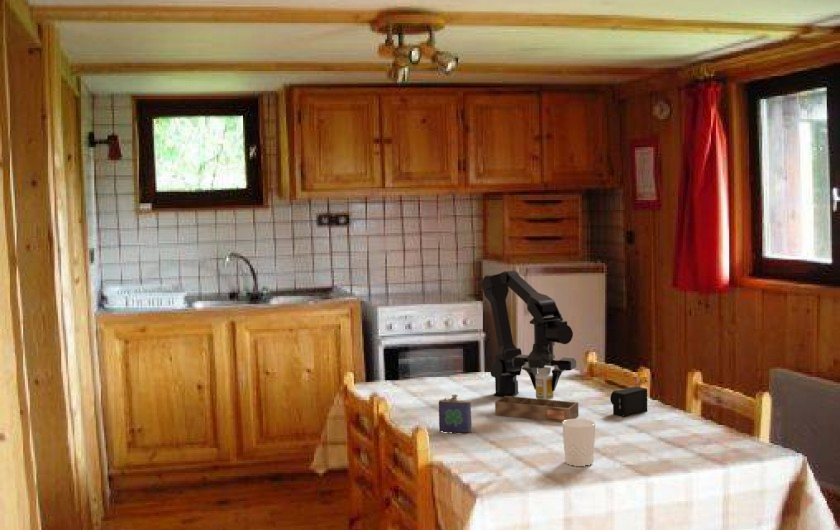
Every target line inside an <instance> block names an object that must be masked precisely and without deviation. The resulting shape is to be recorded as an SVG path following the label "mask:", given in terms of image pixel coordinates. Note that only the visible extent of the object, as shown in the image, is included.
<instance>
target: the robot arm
mask: <svg viewBox="0 0 840 530" xmlns="http://www.w3.org/2000/svg"><path fill="white" fill-rule="evenodd" d="M480 284H481V288H482V291H483V295H484V297H485V298H486V299H487V300H488V302H489V303H490V307H491V313H492V314H491V315H492V320H493V323H494V329H495V336H496V341H497V349H496V352H495V355H494V359H495V360H494V364H493V365H492V367H491V368H490V370H489V372H490V376H491V377H492V378H494V385H495V389H494V390H495V393H493V396H496V397H505V396H512V397H515V396H517V394H519V393H520V391H519V380H517V376H521V373H522V370H524V371H525V372H526V373H527V374H528V376H529V378H530V381H531V383H532V386H533V389H534V390H535V391H536V379H535V378H536V374H538V368H539V369H541V368H544V366H550V367H554V368H553V369H551V374H552V375H553V376H552V391H553V392H555V390H556V388H557V385H558V383H559V380H560V377H561V376H562V373H563V372H565V371H572V370H574V369H576V368H577V361H576V359H575V358H574V357H562V358H560V359H555V358H556V355H555V354H554V346H555V343H557V344H561V345H568V344H569V343H570V342H571V341H572V339H573V337H574V336H573V335H574V333H573V330H572V328H571V326H569V325H568V321H567V320H564V319H563V316H562V314H561V312H560V310H559V308H558V307H557V306H558V305H557V304H556V301H555V300H554V299H553V298H551V297H550V296H548V295H546V294H543V293H540V292H538V291H537V290H535V288H534V287H532V285H530V284H529V283H528V282H527V281H526V280H525V279H523V277H522V276H520V274H519V272H518V271H516V270H505V271H504V270H503V272H500V273H497V274H491V275H490V274H489V275H488V274H487V275H485V276H484V277H483V279H482V281H481V283H480ZM510 290H512V292H513V293H515V294H516V295H517V296H518V297H519V298H520V299H521V300H522V301H523V302H524V303H525V304H526V310H527V312H529V314H530V315H531V316H532V319H530V321H529V324H531V325H533V339H534V340H533V341H534V343H533V344H532V350H531V351H530V352H529V354H523V353H522V349H521V348H520V347H518V348H517V346H516V345H515V343H514V341H513V340H514V339H513V334H512V329H511V323H510V318H509V312H508V305H507V299H508V298H507V297H508V295H509V292H510Z"/></svg>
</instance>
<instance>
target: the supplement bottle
mask: <svg viewBox="0 0 840 530" xmlns="http://www.w3.org/2000/svg"><path fill="white" fill-rule="evenodd" d="M552 376H553V374H552V366H546V365H545V366H544V368H541V369H539V368H537V374H536V378H535V379H536V390H535V399H545V400H553V399H554V398H555V397H554V395H555V393H554V392H555V391H552Z"/></svg>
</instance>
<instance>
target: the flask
mask: <svg viewBox="0 0 840 530" xmlns="http://www.w3.org/2000/svg"><path fill="white" fill-rule="evenodd" d="M457 397H458V394H452V395H451V398H447V397H445V398H444V399H440V400H438V427H439V428H438V429H439V432H440V431H443V432H452V434H456V433H467V434H468V433H470V434H472V430H473V429H472V401H471V400H469V399H467V400H461V399H460V400H458V399H457Z"/></svg>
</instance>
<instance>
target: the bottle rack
mask: <svg viewBox="0 0 840 530" xmlns="http://www.w3.org/2000/svg"><path fill="white" fill-rule="evenodd" d="M494 411H495V412H494V413H495V414H494V415H495V416H499V415H500V416H502V417H509V416H511V417H512V418H518V419H519V418H521V419H530V420H539V421H540V420H541V421H551V422H560V423H562V422H563V421H565V420H568V419H577V418H578V417H579V416H580V413H579V402H576V401H566V400H555V399H554V400H553V399H550V400H545V399H537V398H533V397H524V396H523V397H521V396H520V397H519V396H513V397H512V396H505V397H504V396H502V397H501V398H499V399H497V400H496V401H495V402H494ZM511 417H510V418H511Z"/></svg>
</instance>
